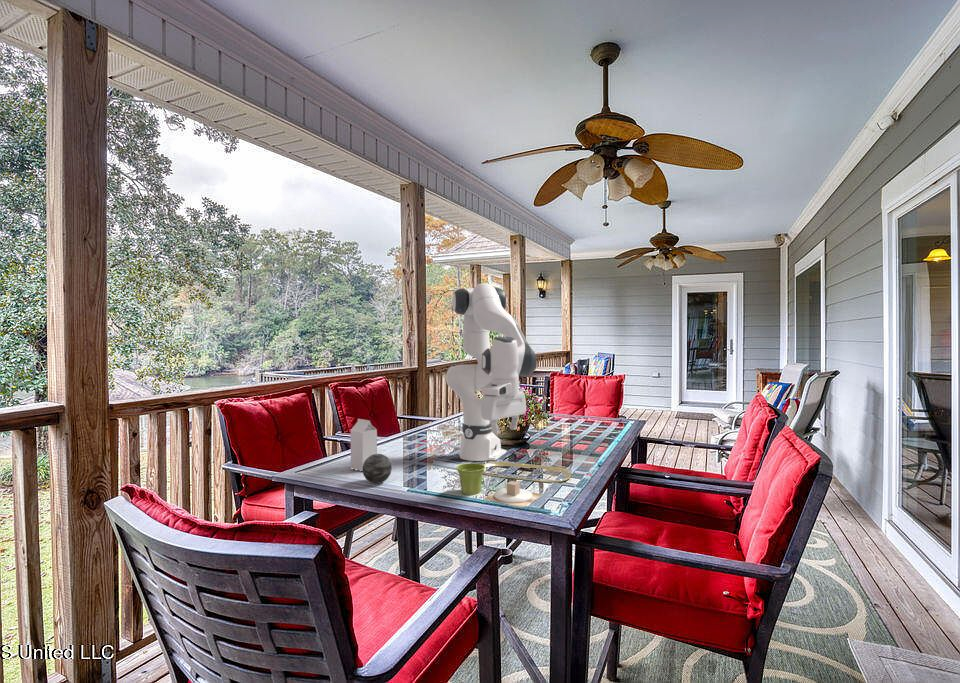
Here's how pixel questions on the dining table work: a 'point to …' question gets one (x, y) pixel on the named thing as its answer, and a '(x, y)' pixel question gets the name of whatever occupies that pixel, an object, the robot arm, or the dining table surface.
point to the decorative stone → (377, 468)
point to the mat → (534, 496)
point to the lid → (513, 494)
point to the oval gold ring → (528, 467)
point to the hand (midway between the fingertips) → (505, 431)
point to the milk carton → (362, 443)
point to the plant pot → (471, 477)
